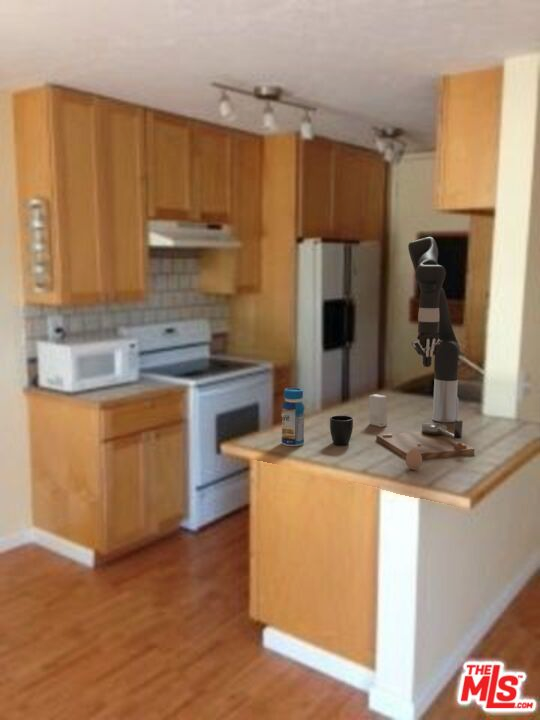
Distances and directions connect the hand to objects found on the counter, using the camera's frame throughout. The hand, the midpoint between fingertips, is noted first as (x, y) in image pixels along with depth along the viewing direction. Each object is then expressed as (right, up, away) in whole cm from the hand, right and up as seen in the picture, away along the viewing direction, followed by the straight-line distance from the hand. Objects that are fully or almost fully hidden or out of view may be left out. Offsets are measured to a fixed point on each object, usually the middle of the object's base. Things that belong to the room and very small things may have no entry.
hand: (427, 366), depth 249 cm
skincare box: (-15, -24, +20) cm, 35 cm away
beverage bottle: (-50, -28, -6) cm, 58 cm away
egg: (-12, -33, -34) cm, 49 cm away
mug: (-32, -28, -4) cm, 42 cm away
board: (-4, -29, -10) cm, 30 cm away
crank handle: (+5, -25, -5) cm, 26 cm away
